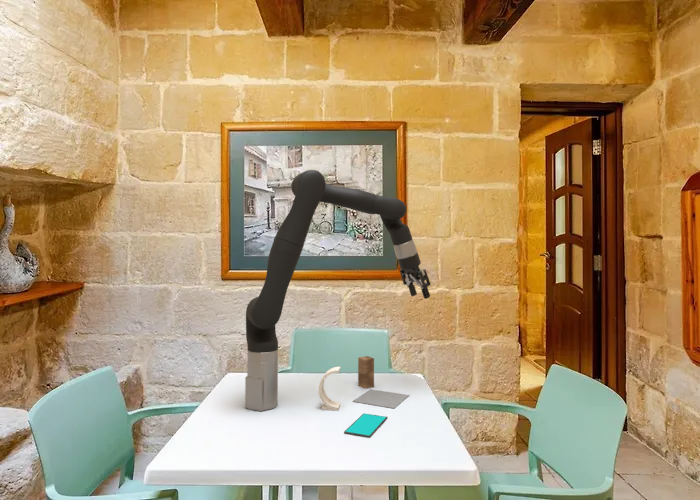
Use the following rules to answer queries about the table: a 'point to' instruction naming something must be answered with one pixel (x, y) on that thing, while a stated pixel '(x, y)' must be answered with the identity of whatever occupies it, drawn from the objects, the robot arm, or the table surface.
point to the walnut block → (366, 372)
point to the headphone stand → (325, 399)
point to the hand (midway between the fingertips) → (420, 296)
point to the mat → (381, 398)
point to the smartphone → (365, 425)
